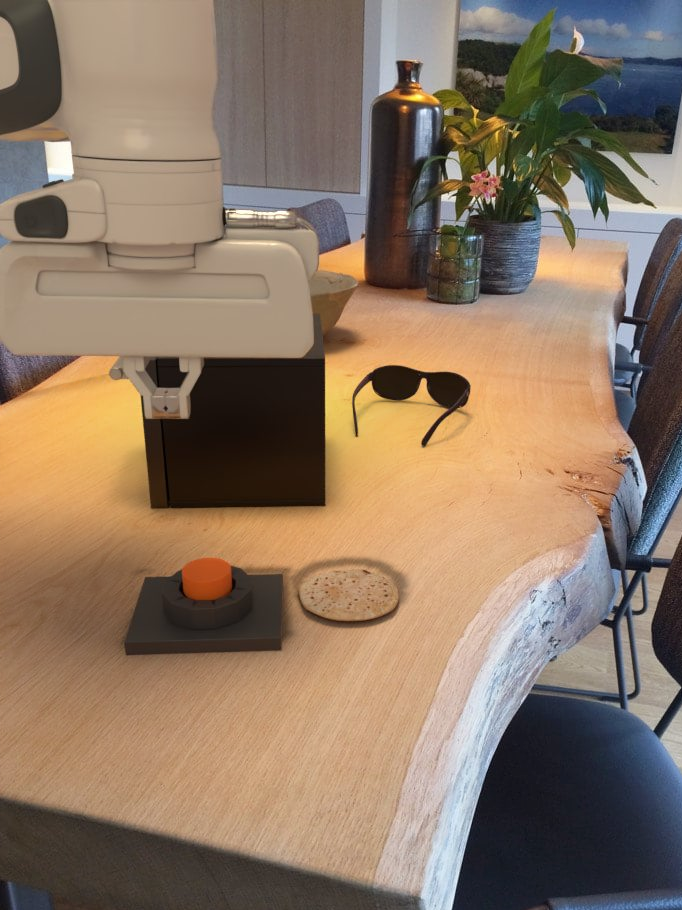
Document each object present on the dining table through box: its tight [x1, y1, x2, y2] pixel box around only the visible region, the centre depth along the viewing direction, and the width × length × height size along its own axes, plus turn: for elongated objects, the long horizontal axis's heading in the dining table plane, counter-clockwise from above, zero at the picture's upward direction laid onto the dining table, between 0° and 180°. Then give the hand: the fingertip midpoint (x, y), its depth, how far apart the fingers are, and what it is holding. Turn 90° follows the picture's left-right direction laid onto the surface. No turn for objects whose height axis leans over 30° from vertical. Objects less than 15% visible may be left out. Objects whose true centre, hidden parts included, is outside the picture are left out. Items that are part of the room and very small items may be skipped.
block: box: [123, 565, 284, 656], centre depth 63 cm, size 11×9×3 cm
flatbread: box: [297, 568, 400, 622], centre depth 66 cm, size 8×8×1 cm
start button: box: [182, 557, 232, 600], centre depth 62 cm, size 4×4×2 cm
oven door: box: [108, 356, 170, 509], centre depth 85 cm, size 5×18×15 cm, turn 5°
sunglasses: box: [351, 364, 472, 447], centre depth 103 cm, size 14×16×5 cm
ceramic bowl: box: [309, 269, 359, 337], centre depth 137 cm, size 22×23×10 cm
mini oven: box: [157, 314, 326, 510], centre depth 86 cm, size 15×18×15 cm
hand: (168, 416), depth 58 cm, fingers closed
